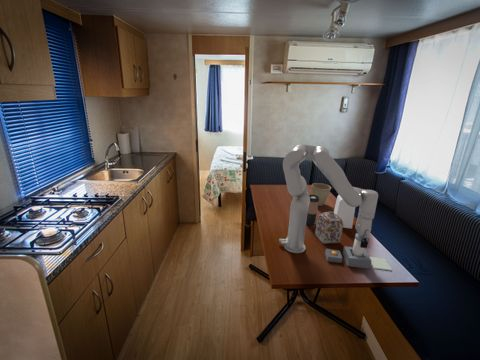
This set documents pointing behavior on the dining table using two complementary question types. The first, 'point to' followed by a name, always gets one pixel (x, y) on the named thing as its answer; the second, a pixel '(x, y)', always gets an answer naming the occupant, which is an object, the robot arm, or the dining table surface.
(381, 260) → the mat
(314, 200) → the travel mug
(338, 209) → the milk
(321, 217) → the decorative jar
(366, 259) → the grey square holder
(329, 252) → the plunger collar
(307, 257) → the dining table surface
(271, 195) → the dining table surface
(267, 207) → the dining table surface
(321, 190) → the plant pot
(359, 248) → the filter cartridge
